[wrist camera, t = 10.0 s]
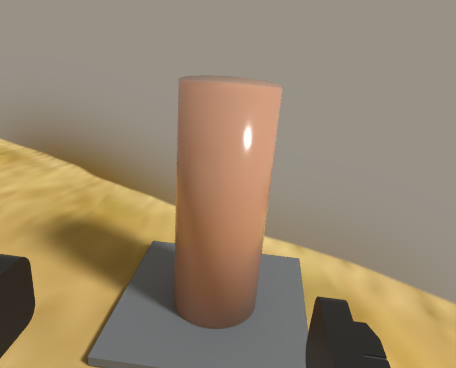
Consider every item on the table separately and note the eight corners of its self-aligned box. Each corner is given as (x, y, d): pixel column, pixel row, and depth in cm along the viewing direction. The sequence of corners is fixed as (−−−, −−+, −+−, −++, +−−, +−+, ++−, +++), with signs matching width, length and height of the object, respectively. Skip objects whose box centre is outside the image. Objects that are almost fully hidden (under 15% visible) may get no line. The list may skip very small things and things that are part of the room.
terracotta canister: (164, 322, 23) (166, 84, 17) (183, 270, 28) (190, 72, 22) (253, 334, 22) (284, 94, 17) (256, 279, 27) (281, 81, 22)
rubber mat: (88, 365, 20) (87, 357, 20) (153, 247, 31) (153, 240, 31) (313, 398, 19) (315, 390, 19) (298, 264, 30) (299, 258, 30)
